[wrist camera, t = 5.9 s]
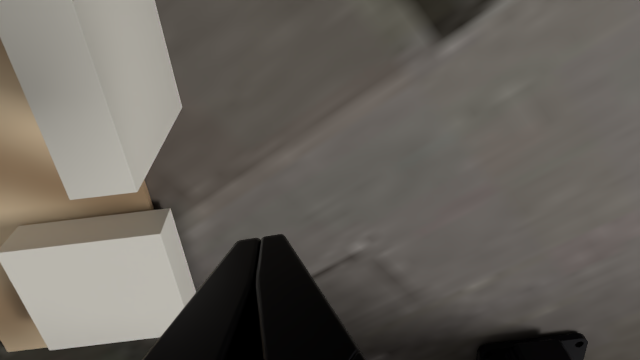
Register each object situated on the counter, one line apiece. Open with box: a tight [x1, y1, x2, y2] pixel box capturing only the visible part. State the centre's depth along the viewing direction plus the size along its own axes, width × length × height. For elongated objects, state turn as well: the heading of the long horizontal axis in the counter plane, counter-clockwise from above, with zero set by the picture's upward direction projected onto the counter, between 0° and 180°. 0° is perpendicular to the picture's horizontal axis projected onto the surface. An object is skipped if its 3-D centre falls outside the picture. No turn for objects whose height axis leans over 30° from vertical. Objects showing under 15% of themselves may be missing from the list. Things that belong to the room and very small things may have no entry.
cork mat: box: [0, 38, 154, 352], centre depth 21 cm, size 20×10×1 cm, turn 6°
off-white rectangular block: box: [0, 0, 182, 200], centre depth 15 cm, size 6×2×7 cm, turn 6°
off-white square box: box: [0, 208, 196, 350], centre depth 22 cm, size 6×2×7 cm
